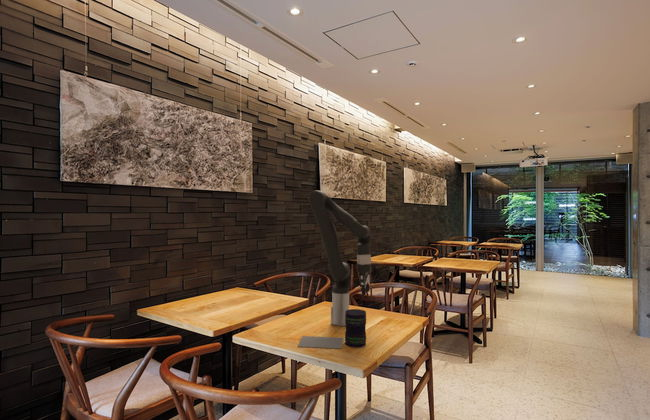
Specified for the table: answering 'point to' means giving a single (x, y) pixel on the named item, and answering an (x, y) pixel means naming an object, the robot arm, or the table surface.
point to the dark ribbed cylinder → (355, 328)
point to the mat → (321, 342)
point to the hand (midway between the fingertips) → (365, 293)
